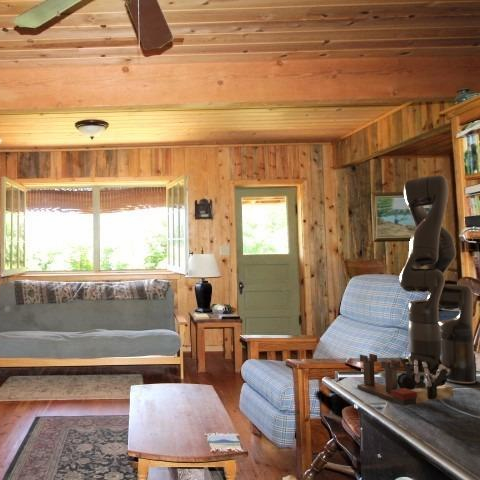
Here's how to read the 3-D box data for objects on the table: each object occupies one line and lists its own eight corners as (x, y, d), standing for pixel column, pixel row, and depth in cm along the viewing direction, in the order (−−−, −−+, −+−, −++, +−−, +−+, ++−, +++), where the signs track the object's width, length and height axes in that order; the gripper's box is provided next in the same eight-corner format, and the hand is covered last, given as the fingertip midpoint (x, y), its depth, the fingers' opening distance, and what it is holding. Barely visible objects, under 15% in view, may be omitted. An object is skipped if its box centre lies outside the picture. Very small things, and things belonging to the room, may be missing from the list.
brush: (443, 393, 122) (442, 381, 122) (456, 397, 119) (455, 385, 119) (392, 401, 116) (391, 389, 117) (404, 406, 113) (403, 394, 113)
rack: (356, 388, 135) (355, 355, 135) (375, 385, 137) (374, 353, 137) (393, 402, 122) (392, 365, 122) (414, 399, 124) (412, 363, 125)
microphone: (377, 383, 149) (406, 394, 129) (370, 367, 150) (398, 376, 130) (392, 378, 148) (423, 389, 129) (385, 363, 149) (415, 371, 130)
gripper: (459, 341, 113) (462, 404, 112) (410, 331, 126) (413, 388, 126) (439, 343, 111) (442, 407, 110) (392, 333, 124) (394, 391, 123)
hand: (426, 397), depth 118 cm, fingers closed on brush, 2 cm apart
